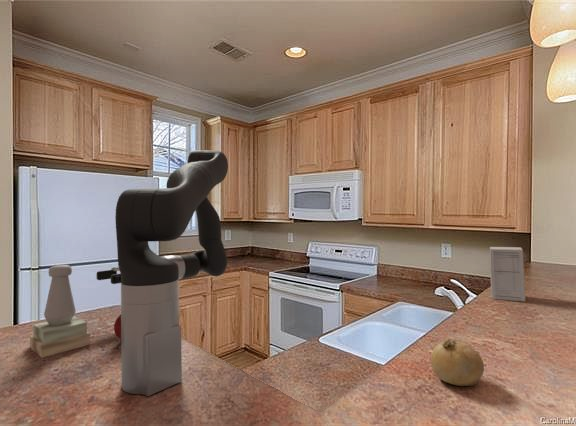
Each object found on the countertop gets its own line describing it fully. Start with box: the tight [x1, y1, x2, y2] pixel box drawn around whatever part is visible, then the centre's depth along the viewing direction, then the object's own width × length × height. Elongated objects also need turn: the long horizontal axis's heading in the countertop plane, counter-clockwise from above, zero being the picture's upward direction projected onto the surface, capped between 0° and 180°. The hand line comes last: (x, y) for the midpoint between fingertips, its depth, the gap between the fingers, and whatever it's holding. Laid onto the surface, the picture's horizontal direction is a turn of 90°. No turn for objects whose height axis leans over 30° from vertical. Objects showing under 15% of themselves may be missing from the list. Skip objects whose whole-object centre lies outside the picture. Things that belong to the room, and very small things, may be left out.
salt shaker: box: [43, 264, 76, 326], centre depth 73 cm, size 6×6×13 cm
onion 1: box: [113, 313, 121, 340], centre depth 75 cm, size 6×6×8 cm
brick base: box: [29, 315, 91, 359], centre depth 73 cm, size 9×9×5 cm
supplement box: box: [489, 246, 526, 303], centre depth 111 cm, size 10×9×17 cm
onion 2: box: [429, 337, 485, 387], centre depth 55 cm, size 8×8×7 cm
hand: (103, 277), depth 81 cm, fingers open, 8 cm apart
